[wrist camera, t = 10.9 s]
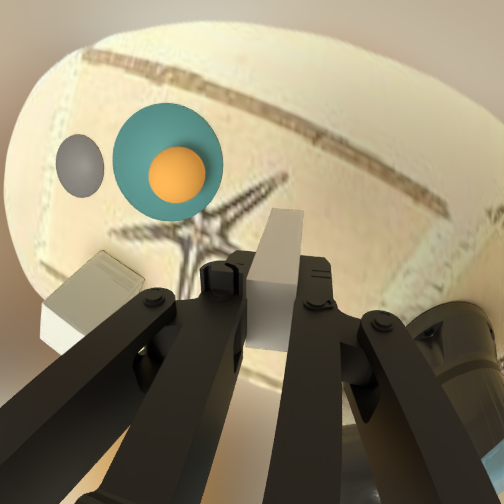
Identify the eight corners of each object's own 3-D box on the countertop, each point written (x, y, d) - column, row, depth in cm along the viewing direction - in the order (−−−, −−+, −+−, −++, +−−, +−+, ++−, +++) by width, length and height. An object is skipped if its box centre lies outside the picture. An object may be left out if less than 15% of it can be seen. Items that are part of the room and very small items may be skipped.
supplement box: (101, 247, 38) (40, 300, 27) (146, 279, 39) (95, 342, 28) (89, 285, 42) (37, 338, 31) (130, 313, 43) (85, 374, 32)
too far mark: (100, 131, 31) (100, 131, 31) (107, 197, 35) (106, 198, 35) (54, 138, 33) (53, 138, 32) (61, 197, 36) (60, 197, 36)
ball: (160, 148, 31) (208, 139, 30) (170, 197, 34) (217, 191, 32) (132, 157, 27) (186, 145, 25) (145, 213, 29) (197, 207, 27)
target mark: (222, 100, 28) (222, 100, 28) (223, 224, 34) (223, 225, 34) (110, 109, 30) (109, 109, 30) (119, 217, 36) (118, 218, 36)
